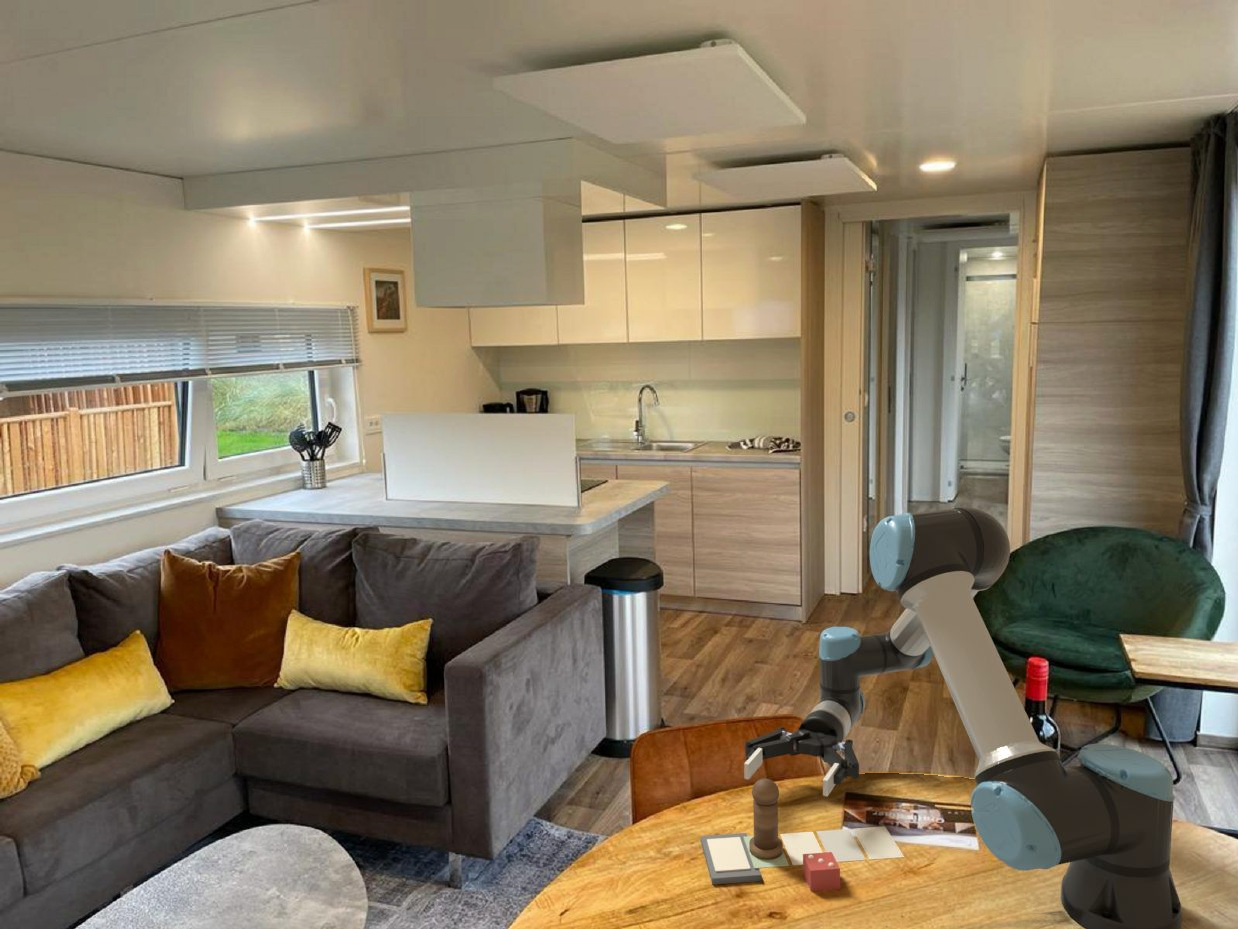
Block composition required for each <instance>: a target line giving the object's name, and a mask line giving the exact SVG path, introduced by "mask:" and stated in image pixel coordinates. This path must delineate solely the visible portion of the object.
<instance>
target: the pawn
mask: <svg viewBox="0 0 1238 929" xmlns="http://www.w3.org/2000/svg"><path fill="white" fill-rule="evenodd" d="M751 796H752V798H753V800H752V801H753V836H754V837H753V838H751V840H750V842H749V848H750V853H751V854H752V855H753V856H755V857H757V858H759V859H764V860H771V859H776V858H778V857H780V856H781V855H782V853H783V852H784V850H783V848H784V843H783V840H782V839H780V837H779V801H778V800H779V797H780V789H779V787H778V785H777V783H776V782H774V781H773V780H771V779H769V778H761V779H759V780H757V781H756V782H755V783H754V784H753V786H752V789H751Z"/></svg>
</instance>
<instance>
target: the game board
mask: <svg viewBox="0 0 1238 929" xmlns="http://www.w3.org/2000/svg"><path fill="white" fill-rule="evenodd" d="M852 830H853V832H854V834H855V836H856V837H857V838H856V839H858V841H859V843H860V845H861V846H862V848H863V850H864V852H865V854H866V856H867V858H869V860H871V861H872V860H873V861H874V860H882V859H883V860H884V859H885V860H887V859H897V858H898V859H899V858H900V859H901V858H905V856H904V854H903V853H902V851H901V850H900V848H899V846H898V845H897V843H896V842H895V839H894V838H893V837H892V835H891V834H890V832H889V831H888V829H887V827H886V826H883V825H882V826H872V827H869V826H868V827H858V828H852ZM815 832H816V835H817V836H818V838H819V840H820V842H821V844H822V847H823V848H824V851H825V852H832V854H833V856H834V858H835V860H836V862H837V863H843V862H845V863H846V862H847V863H848V862H858V861H860V862H861V861H866V860H867V859H866V857H865V855H864V853H863V852H862V849H861V848H860V846H859V845H858V842H857V841H856V839H855V838H854V835H853V834H852V832H851V830H850V829H849V828H844V829H843V828H842V829H832V830H831V829H830V830H829V829H828V830H818V831H817V830H816V831H815ZM779 835H780V838H781V841H782V843H783V846H784V847H785V849H786V852H787V854H788V857H789V859H790V861H791V864H792V866H803V854H811V853H824V851H823V849H822V848H821V846H820V844H819V842H818V840H817V837H816V836H815V834H814V832H813V831H803V832H790V833H787V832H786V833H780V834H779ZM753 837H754V835H748V833H747V832H740V833H737V832H736V833H727V834H726V833H725V834H724V833H723V834H713V835H712V834H708V835H700V843H701V847H702V851H703V856H704V860H705V862H706V863H705V864H706V867H707V870H708V874H709V878H710V881H711V885H713V886H714V885H721V884H722V885H724V884H738V883H749V882H750V883H751V882H763V881H764V878H763V875H762V873H761V870H760V869H763V868H766V869H767V868H778V867H790V864H789V861H788V859H787V857H786V855H785V852H784V851H783V853H782V855H781V856H780V857H778V858H776V859H771V860H764V859H759V858H757V857H755V856H753V855H752V854H751V853H750V848H749V842H750V840H751V838H753Z"/></svg>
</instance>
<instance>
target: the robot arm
mask: <svg viewBox="0 0 1238 929" xmlns="http://www.w3.org/2000/svg"><path fill="white" fill-rule="evenodd" d="M1010 543H1011V542H1010V538H1009V535H1008V534H1007V532H1006V530H1005V528H1004V527H1003V525H1002V524H1001V522H1000V521H999V520H997V519H996V517H994V516H993V515H991V514H990V513H988V512H986V511H985V510H982V509H977V508H973V507H968V506H967V507H965V506H962V507H954V508H948V509H947V508H946V509H939V510H930V511H920V512H913V513H912V512H903V513H902V514H896V515H888V516H886V517H885V518H883V519H881V520H880V521H879V522H878V524H877V525H876V526H875V528H874V530H873V532H872V535H871V539H870V546H869V565H870V569H871V574H872V577H873V578H874V581H875V583H876V584H877V585H878V587H880V588H881V589H883V591H888V592H894V591H895V592H896V594H897V597H898V598H899V601H900V604H901V606H902V607H904V608H905V609H904V611H903V612H902V613H901V615H900V616H899V617H898V618H897V620H896V621H895V622H894V624H893V625H892V626H891V627H890V628H889V629H888V631H886V632H882V633H876V634H875V633H874V634H869V635H868V634H867V635H860V632H859V631H858V630H857V629H855V628H852V627H848V626H831V627H828V628H826V629H824V630H823V631H822V632H820V633H821V634H820V635H819V636H820V639H819V648H818V649H819V650H818V656H819V678H820V679H819V701H818V703H817V704H816V705H815V706H814V707H813V708H812V710H811V711H810V712H809V713H808V714H807V716H806V717H805V718H804V719H803V721H801V723H800V725H799V726H798V729H797V730H796V731H793V732H792V733H791V732H789V731H788V732H787V731H786V727H785V726H779V727H778V728H776V729H775V730H774V731H771V732H769V733H767V734H763V735H761V736H758V737H755V738H753V739H749V740H747V741H745V742H744V747H745V748H744V749H745V750H744V754H745V755H744V756H745V757H746V759H745V762H744V763H743V768H744V769H743V771H744V773H743V775H744V780H750V779H751V778H752V777H753V775H754V774H755V773H756V772H757V770H758V769H759V768H760V767H761V766H762V764H764V763H763V761H764V760H768V759H772V758H778V757H781V756H785V755H789V756H791V757H792V756H797V755H809V756H811V757H815V758H817V757H818V758H820V759H821V760H822V761H823V762H824V763H827V765H829V766H830V769H829V770H828V772H827V773H826V775H825V776H824V777H823V779H822V796H824V797H829V795H830V794H831V792H832V790H833V789H834V787H835V786H836V785H837V786H838V785H839V786H840V785H842V783H843V782H844V781H845V779H848V777H851V779H853V780H859V779H860V763H859V761H858V759H857V756H856V754H855V750H854V740H853V739H846V740H845V741H844V742H843V740H844V739H845V738H846V737H847V735H849V733H850V731H851V729H852V728H853V726H854V725H855V724H856V723H857V722H858V721H860V719H861V717H862V715H863V712H864V711H865V708H866V697H865V695H864V692H863V691H862V689H861V678H862V677H869V676H874V675H881V674H888V673H889V674H890V673H896V672H901V671H914V670H916V669H918V668H924V667H926V666H928V665H929V664H930V663H931V662H932V660H933V658H932V656H934V658H935V660H936V662H937V665H938V668H939V669H940V672H941V675H942V677H943V679H944V681H945V683H946V686H947V688H948V691H949V693H950V696H951V698H952V700H953V703H954V705H955V708H956V710H957V713H958V714H959V717H960V719H961V721H962V724H963V726H964V728H965V731H966V733H967V736H968V737H969V740H970V743H971V745H972V747H973V749H974V752H975V754H976V757H977V759H978V766H977V768H976V771H975V772H974V776H973V777H974V780H975V783H976V785H977V786H976V787H975V788H974V789H973V790H972V793H971V797H970V807H971V808H972V810H971V816H972V821H973V824H974V827H975V828H976V831H977V833H978V835H979V837H980V838H981V840H982V842H983V843H984V845H985V847H987V849H988V850H989V851H990V852H991V854H993V856H994V857H995V858H996V859H997V860H999V861H1000V862H1003V863H1004V864H1005V865H1006V866H1008V867H1010V868H1011V869H1013V870H1016V871H1025V872H1027V871H1034V870H1050V869H1052V868H1054V867H1056V866H1059V865H1060V866H1061V865H1064V864H1068V863H1069V865H1068V867H1067V869H1066V872H1065V874H1064V875H1063V878H1062V880H1061V884H1060V902H1061V905H1062V907H1063V909H1064V911H1065V912H1066V913H1067V914H1068V915H1069V916H1070V917H1071V919H1073V920H1074V921H1075V922H1077V923H1078V924H1079V925H1080V926H1082V927H1084V928H1085V929H1181V928H1182V918H1183V916H1182V915H1183V909H1182V903H1181V900H1180V898H1179V894H1178V892H1177V889H1176V885H1175V882H1174V878H1173V876H1172V875H1173V874H1172V873H1171V870H1170V863H1171V862H1170V859H1171V847H1172V846H1171V845H1172V844H1171V843H1172V830H1173V816H1174V814H1173V812H1174V802H1175V795H1174V780H1173V779H1174V778H1173V775H1172V773H1171V771H1170V769H1169V768H1168V767H1167V766H1166V765H1165V764H1163V763H1162V762H1161V761H1159V760H1158V759H1157V758H1154V757H1153V756H1151V755H1148V754H1146V753H1144V752H1141V751H1139V750H1136V749H1132V748H1128V747H1125V746H1120V745H1116V744H1115V745H1114V744H1108V743H1092V744H1091V743H1090V744H1087V745H1084V746H1082V747H1081V748H1080V751H1079V753H1078V755H1077V760H1078V764H1077V765H1073V766H1067V767H1065V766H1064V764H1063V761H1062V759H1061V758H1060V756H1059V753H1058V751H1057V750H1056V749H1055V748H1052V747H1051V746H1048V745H1046V744H1044V743H1042V742H1041V741H1040V740H1039V738H1038V735H1037V734H1036V732H1035V729H1034V727H1033V725H1032V722H1031V720H1030V719H1029V716H1028V715H1027V712H1026V711H1025V707H1024V706H1023V704H1022V702H1021V700H1020V696H1019V695H1018V693H1017V691H1016V687H1014V684H1013V682H1012V680H1011V678H1010V676H1009V673H1008V671H1007V669H1006V667H1005V665H1004V662H1003V661H1002V659H1001V656H1000V654H999V652H998V649H997V648H996V645H995V644H994V641H993V639H992V637H991V635H990V632H989V630H988V629H987V627H986V626H987V625H986V624H985V622H984V620H983V617H982V616H981V613H980V612H979V609H978V607H977V605H976V604H977V603H975V601H974V597H975V596H976V595H977V594H978V592H980V591H986V590H987V589H989V588H991V587H992V586H993V585H994V584H995V583H996V582H997V581H998V580H999V578H1000V577H1002V574H1003V573H1004V572H1005V570H1006V569H1007V566H1008V564H1009V560H1010V556H1011V544H1010ZM837 751H839V752H840V753H841V755H840V754H839V752H837ZM843 757H844V758H843Z"/></svg>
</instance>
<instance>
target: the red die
mask: <svg viewBox="0 0 1238 929" xmlns="http://www.w3.org/2000/svg"><path fill="white" fill-rule="evenodd" d="M802 874H803V877H804V879H805V882H806V883H807V885H808V888H809V890H810V891H811V892H813V891H814V892H815V891H825V890H840V889H841V867H840V866H839V863H838V862H836V860H835V858H834V856H833V854H832V852H826V851H825V852H823V853H811V854H803V865H802Z"/></svg>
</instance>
